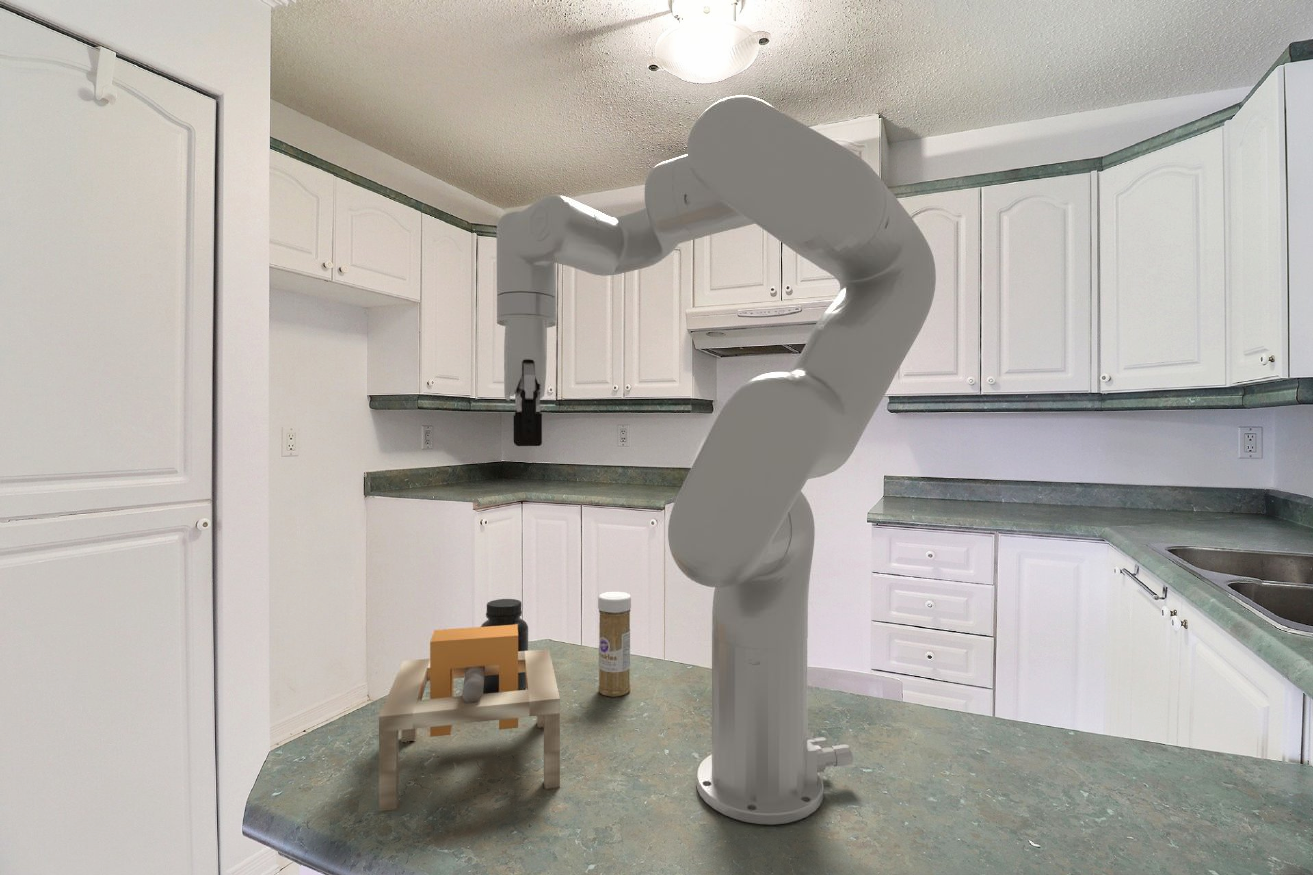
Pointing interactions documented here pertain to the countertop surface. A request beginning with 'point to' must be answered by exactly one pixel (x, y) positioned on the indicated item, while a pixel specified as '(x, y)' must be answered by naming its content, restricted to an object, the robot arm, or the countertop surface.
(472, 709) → the wooden frame stool
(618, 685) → the sprinkles bottle
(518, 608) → the supplement bottle
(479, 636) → the orange block
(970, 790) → the countertop surface
